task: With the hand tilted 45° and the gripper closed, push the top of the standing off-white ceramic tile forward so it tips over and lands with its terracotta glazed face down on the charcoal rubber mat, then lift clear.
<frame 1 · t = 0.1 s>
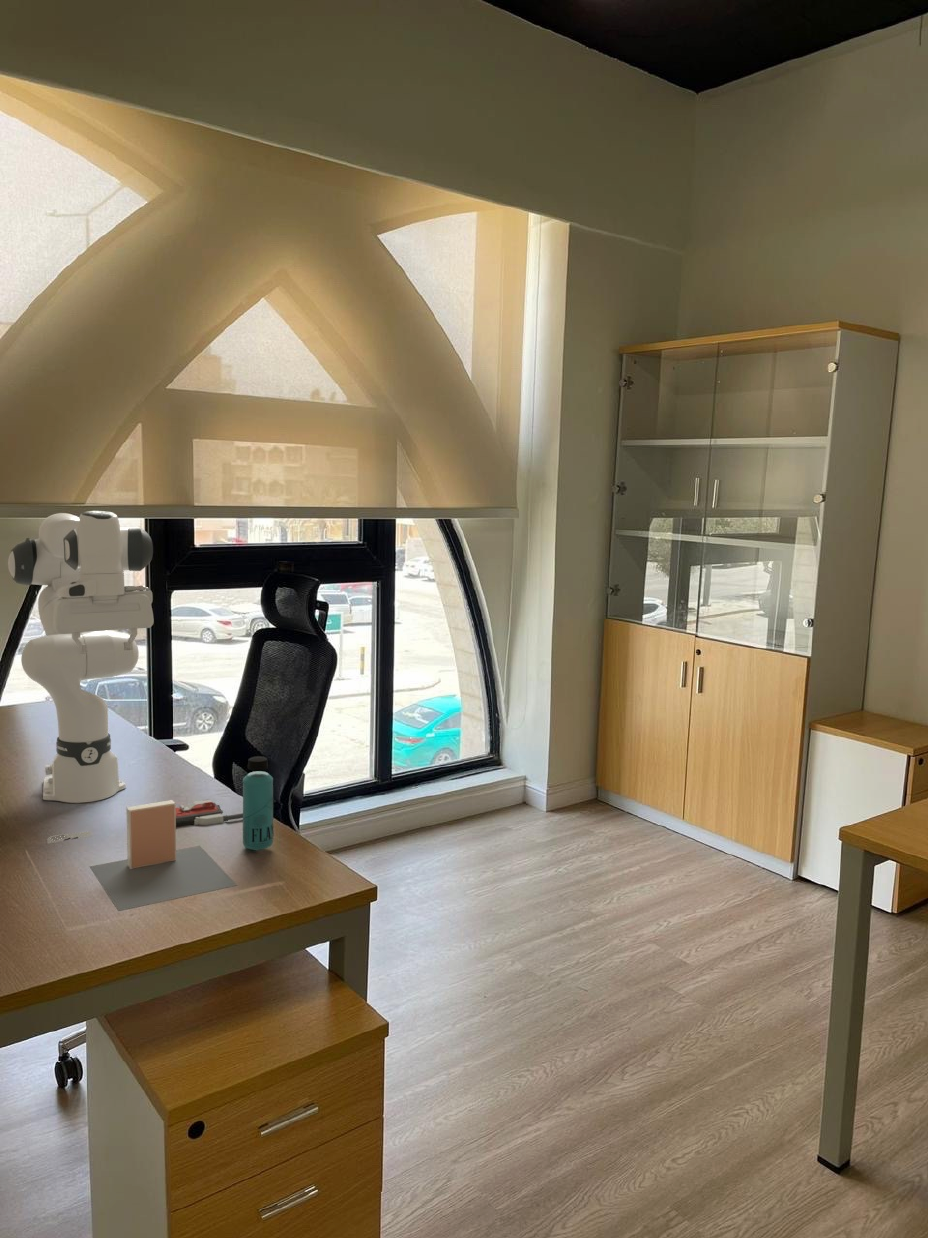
hand: (105, 651, 207), 39 cm above the table, tool pointing down, fingers open, 8 cm apart
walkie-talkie: (208, 822, 219), on the table
beverage bottle: (257, 851, 202), on the table
handheld gaming device: (70, 849, 201), on the table
tile: (152, 862, 193), resting on mat
mat: (162, 878, 187), on the table
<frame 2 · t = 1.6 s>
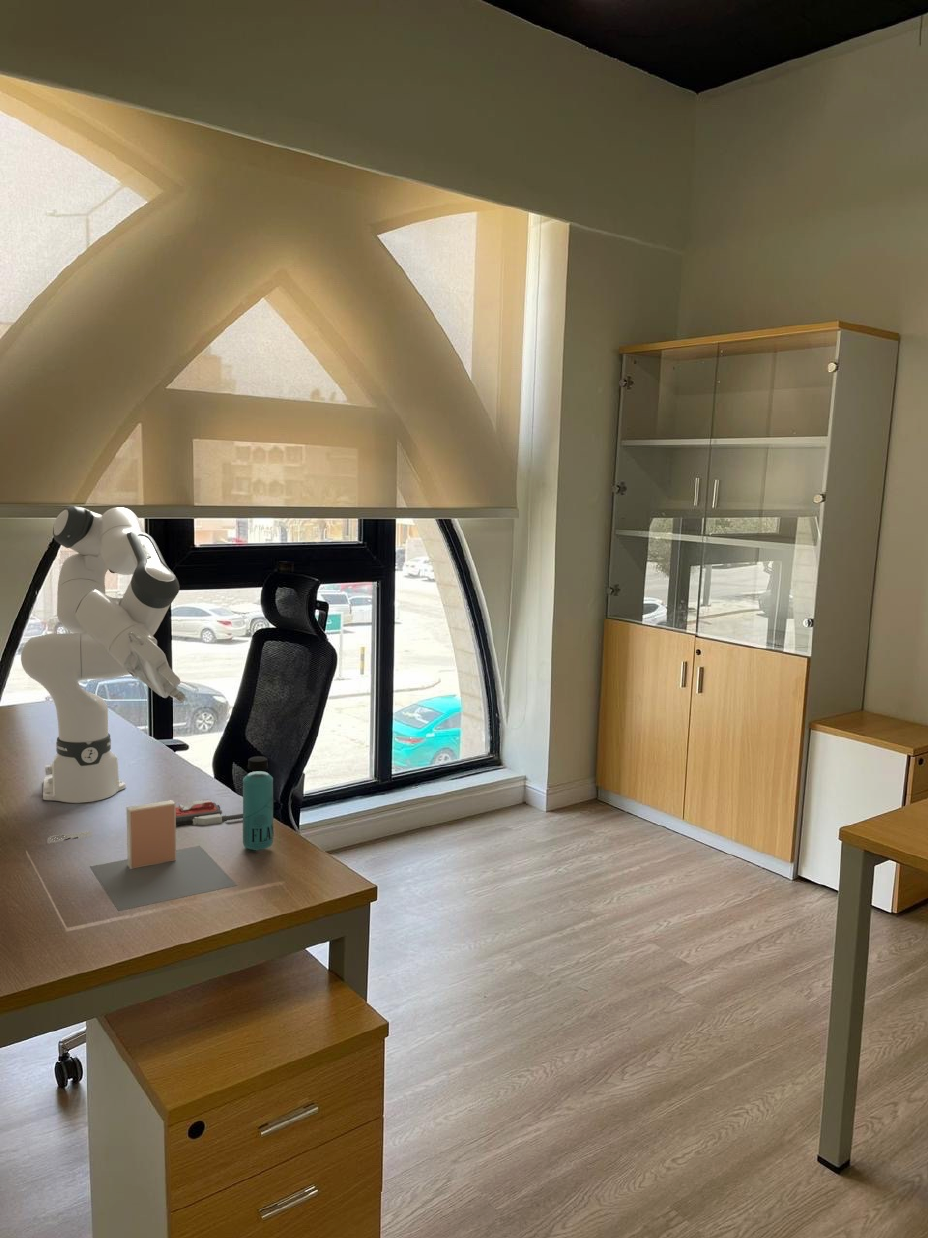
hand: (180, 692, 202), 32 cm above the table, tool tilted 55°, fingers open, 8 cm apart
nothing on the table moved.
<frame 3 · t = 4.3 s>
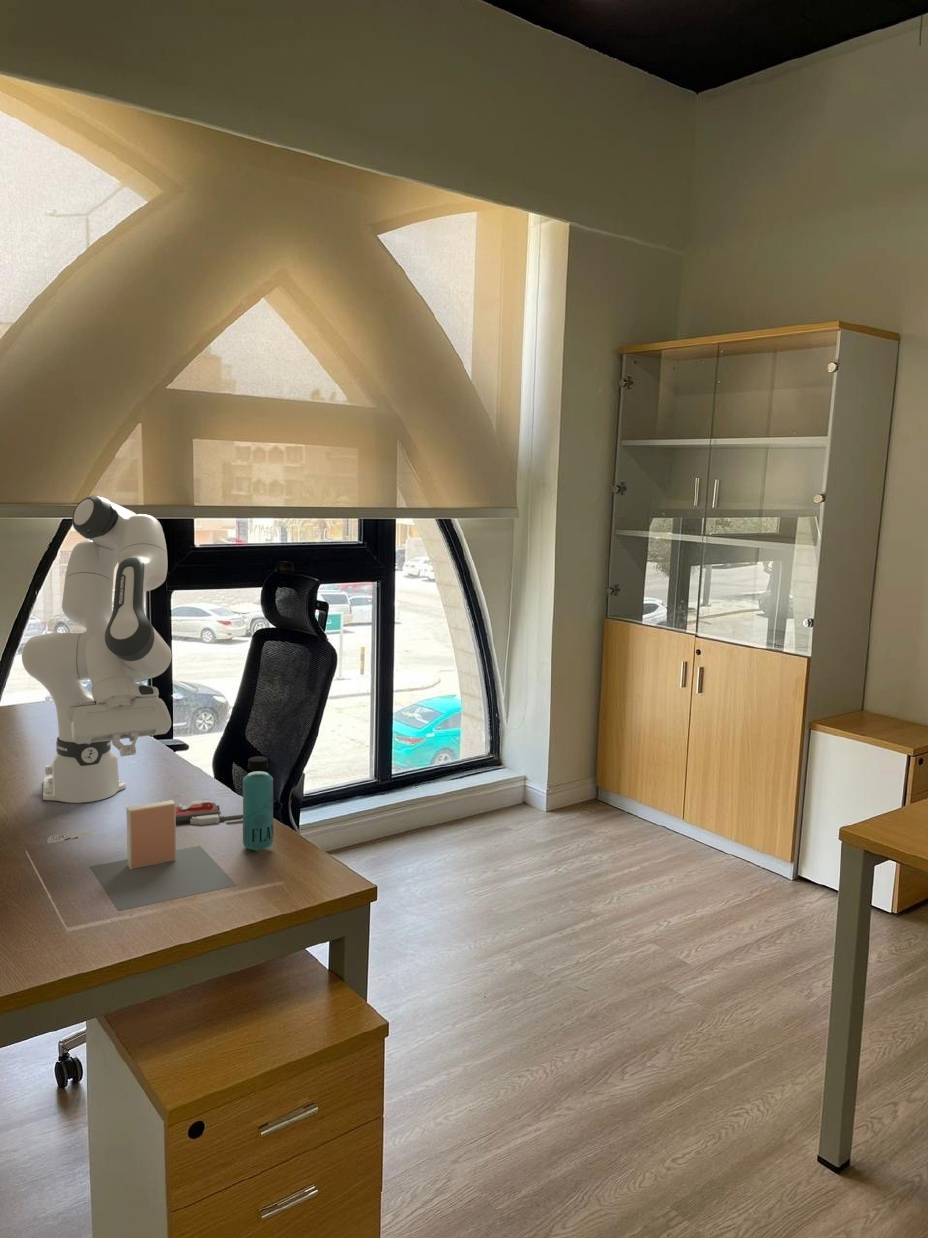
hand: (128, 754, 204), 18 cm above the table, tool tilted 45°, fingers closed
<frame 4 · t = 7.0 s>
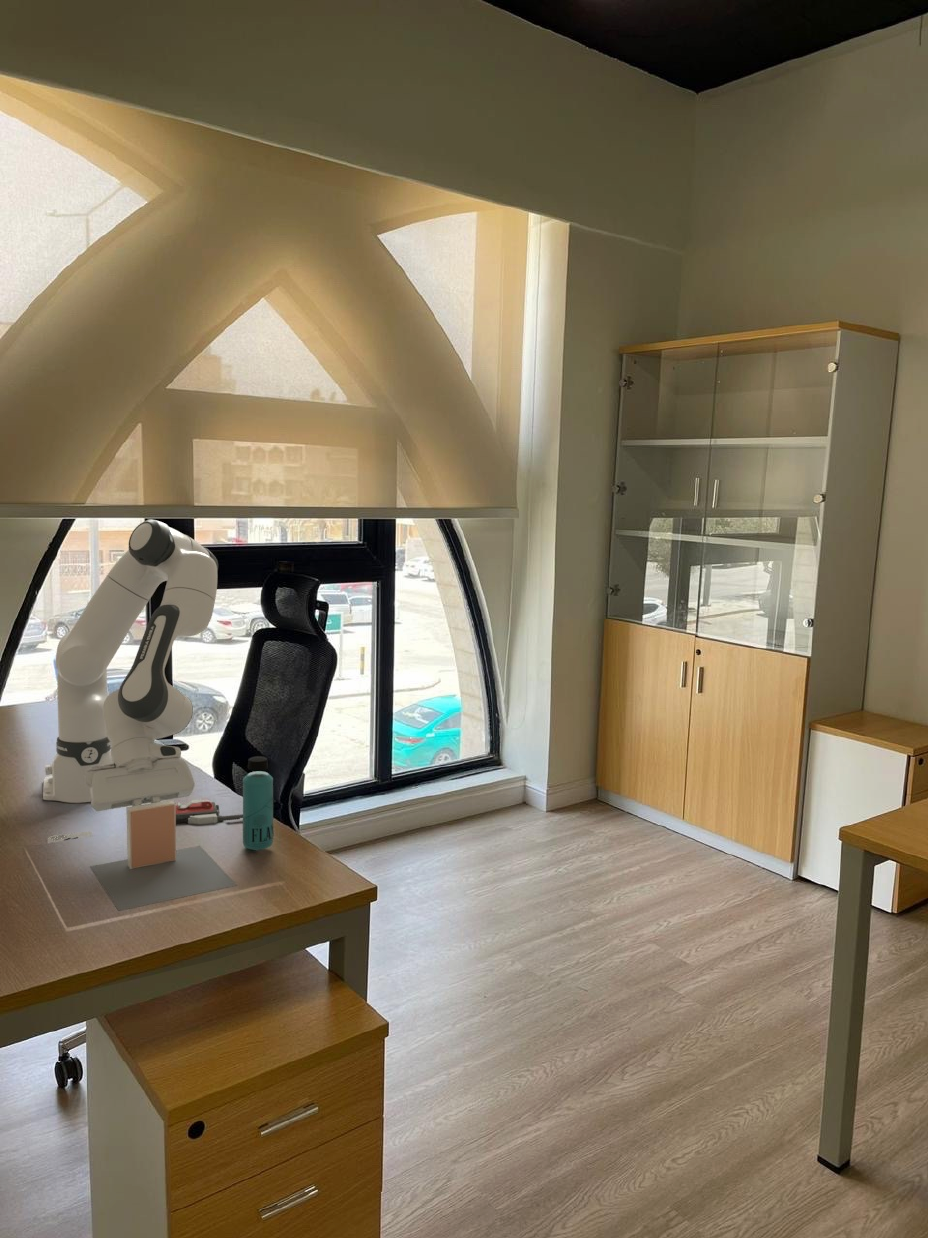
hand: (150, 821, 194), 8 cm above the table, tool tilted 45°, fingers closed
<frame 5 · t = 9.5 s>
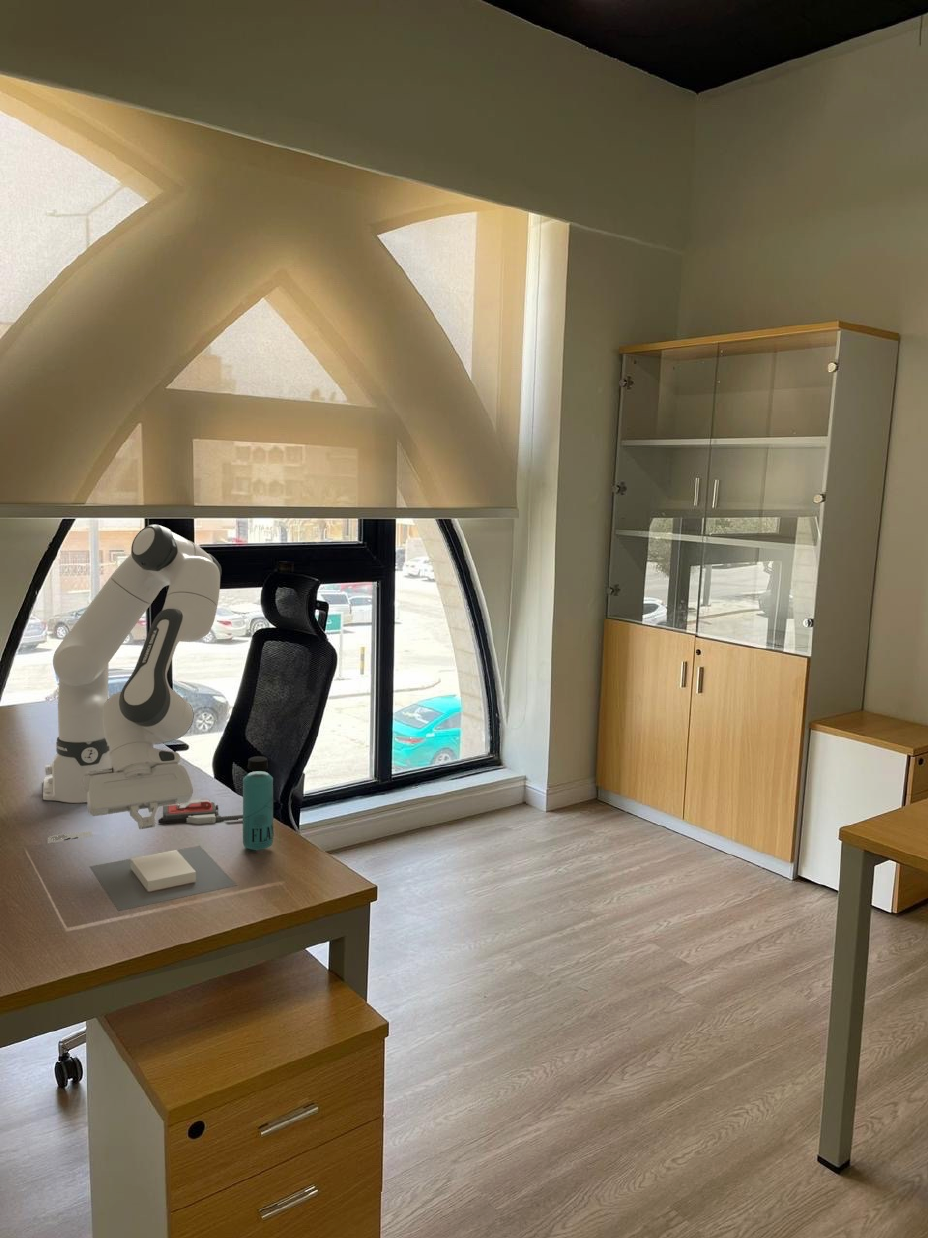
hand: (147, 827, 191), 8 cm above the table, tool tilted 45°, fingers closed
tile: (153, 859, 192), point 2 cm above the table, tilted 90°, touching mat
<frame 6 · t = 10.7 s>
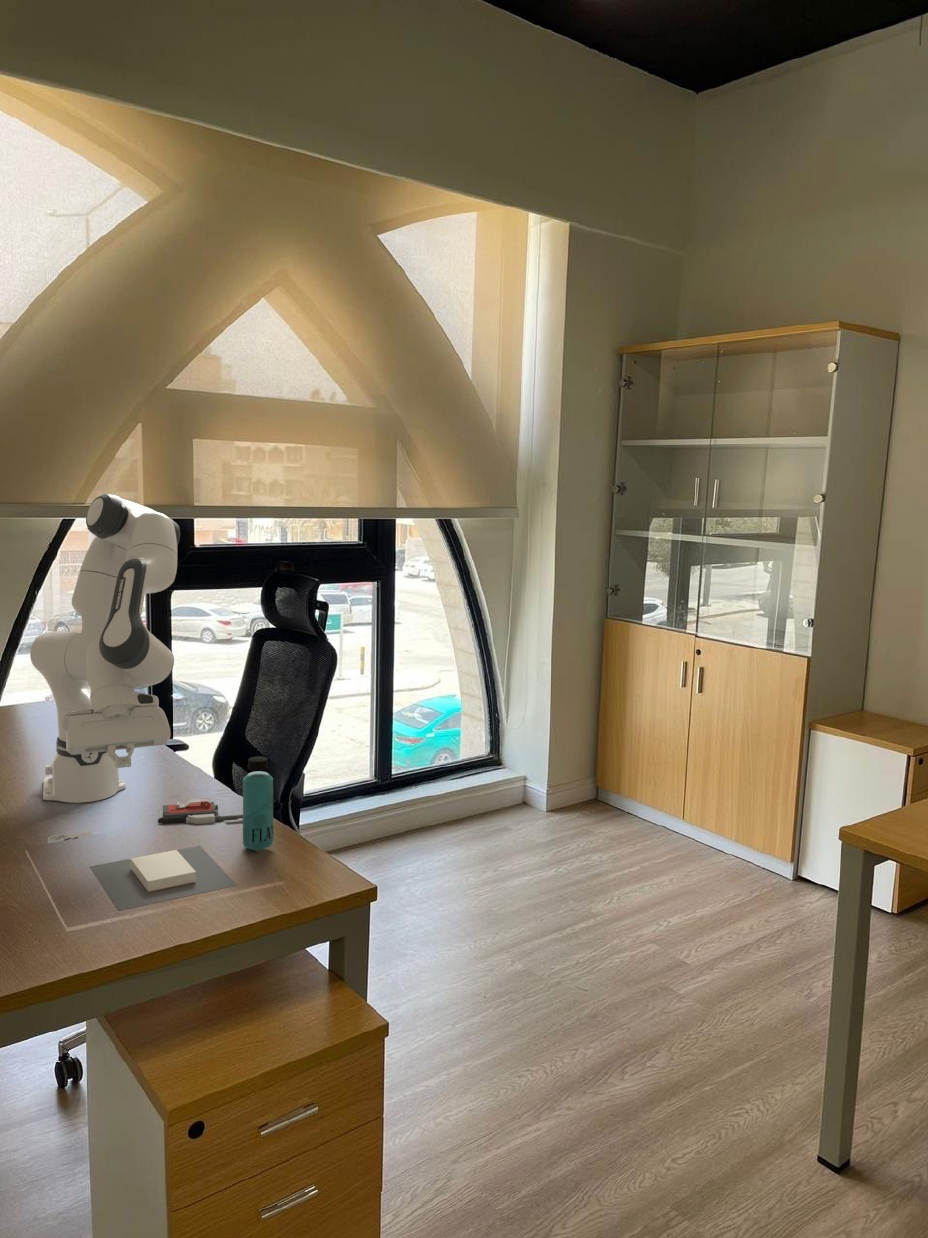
hand: (123, 766, 196), 18 cm above the table, tool tilted 45°, fingers closed
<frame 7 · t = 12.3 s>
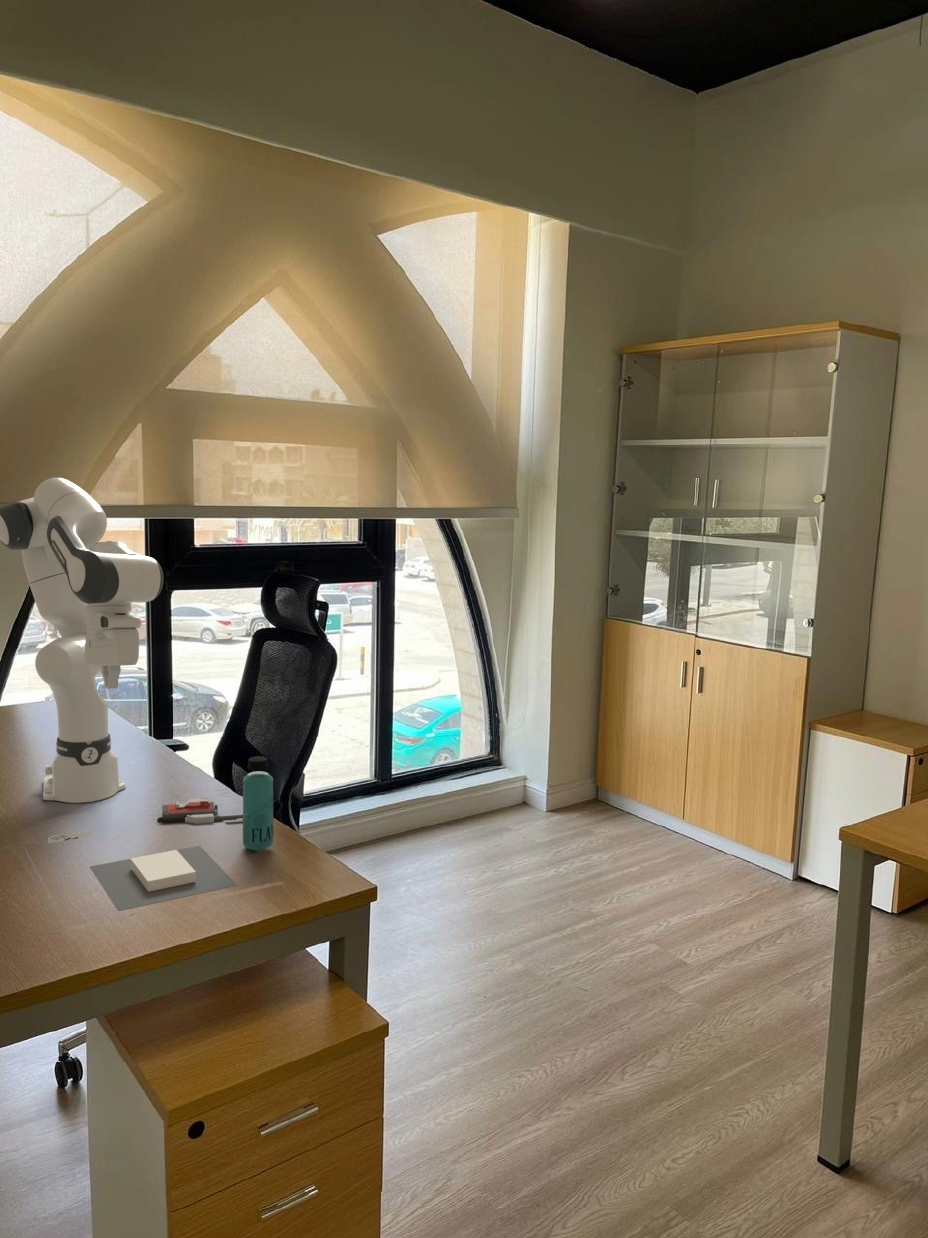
hand: (111, 688, 199), 33 cm above the table, tool pointing down, fingers closed
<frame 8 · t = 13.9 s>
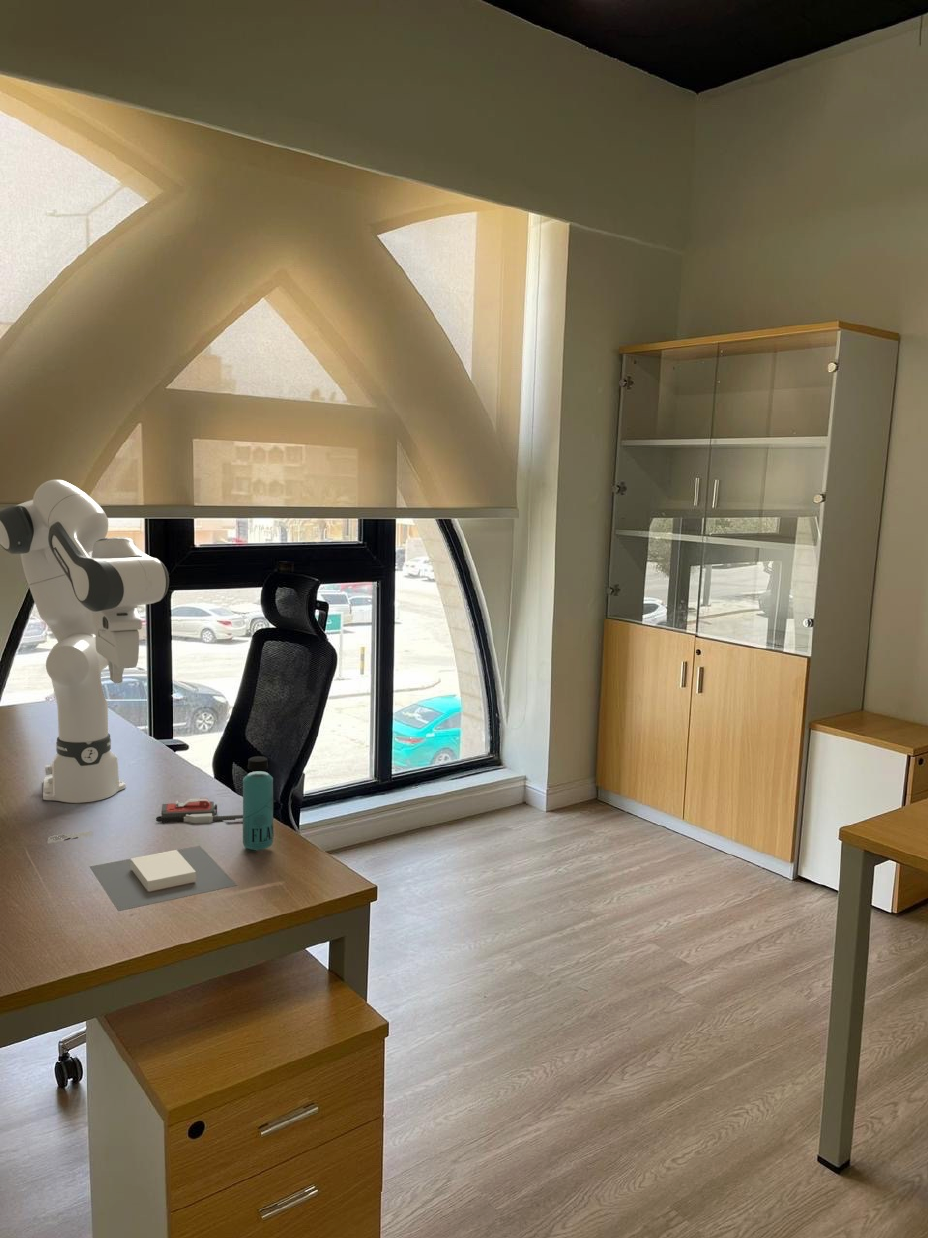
hand: (116, 681, 201), 34 cm above the table, tool pointing down, fingers closed
at the end: tile tilted 90°; tile inside the target area (4.0 cm from its centre), point 1.8 cm above the table; the gripper is holding nothing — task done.
